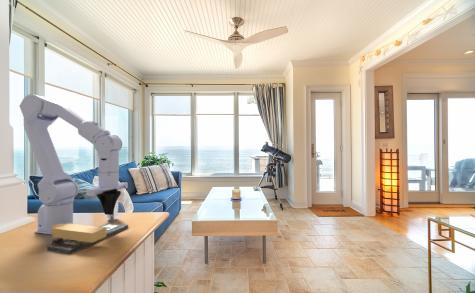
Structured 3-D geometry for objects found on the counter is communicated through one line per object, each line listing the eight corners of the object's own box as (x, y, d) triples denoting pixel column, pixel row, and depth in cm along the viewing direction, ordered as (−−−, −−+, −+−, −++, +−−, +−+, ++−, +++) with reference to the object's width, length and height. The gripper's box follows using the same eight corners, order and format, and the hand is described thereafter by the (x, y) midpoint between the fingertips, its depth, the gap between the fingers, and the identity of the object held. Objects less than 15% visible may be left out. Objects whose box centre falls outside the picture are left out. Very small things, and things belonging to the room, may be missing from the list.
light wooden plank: (46, 236, 65) (46, 227, 65) (61, 230, 69) (61, 222, 69) (92, 242, 60) (92, 233, 60) (106, 236, 65) (106, 227, 65)
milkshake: (115, 221, 84) (115, 194, 84) (102, 221, 85) (102, 193, 86) (123, 218, 89) (123, 192, 89) (111, 217, 90) (111, 191, 90)
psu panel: (47, 250, 61) (47, 245, 61) (108, 225, 80) (108, 221, 80) (70, 253, 59) (70, 248, 59) (128, 227, 78) (128, 223, 78)
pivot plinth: (50, 242, 66) (50, 236, 66) (59, 239, 68) (59, 233, 68) (56, 243, 65) (56, 237, 65) (65, 240, 68) (65, 234, 68)
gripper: (99, 174, 67) (99, 221, 67) (134, 170, 81) (134, 209, 81) (80, 174, 69) (80, 219, 69) (118, 169, 83) (118, 207, 83)
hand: (108, 214), depth 75 cm, fingers closed
